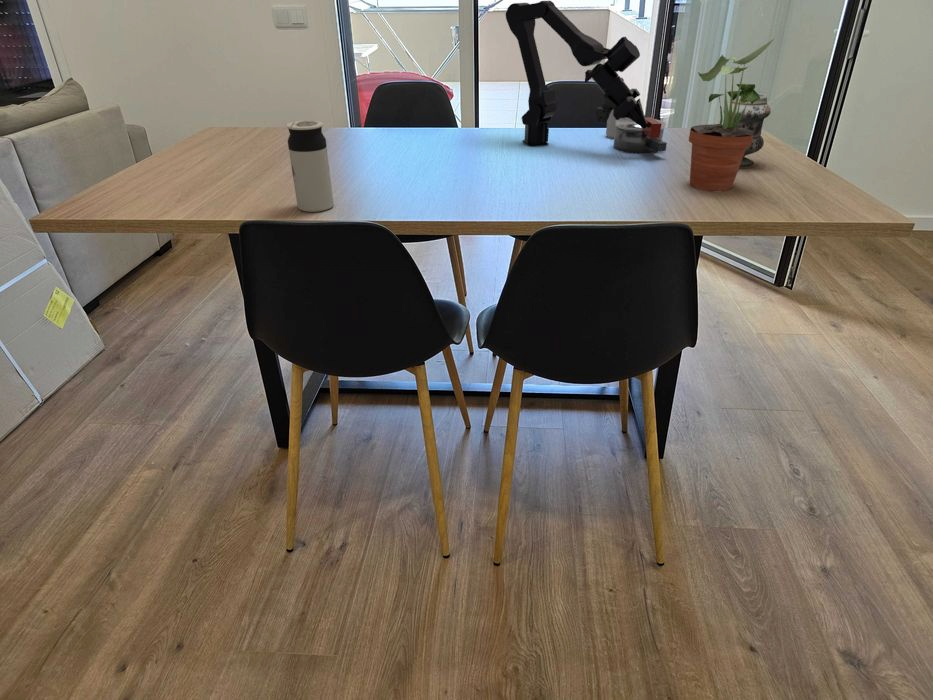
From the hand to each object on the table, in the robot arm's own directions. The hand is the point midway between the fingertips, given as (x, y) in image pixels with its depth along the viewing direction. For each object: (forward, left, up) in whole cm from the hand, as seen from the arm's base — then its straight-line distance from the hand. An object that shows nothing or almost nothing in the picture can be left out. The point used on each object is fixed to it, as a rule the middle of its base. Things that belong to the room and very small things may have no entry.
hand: (645, 127), depth 169 cm
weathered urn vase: (+22, -13, -8) cm, 27 cm away
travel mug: (-93, -22, -8) cm, 96 cm away
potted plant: (+3, -29, -8) cm, 30 cm away
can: (+5, +25, -8) cm, 27 cm away
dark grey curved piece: (+4, +8, -8) cm, 12 cm away
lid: (+3, +8, -2) cm, 8 cm away
